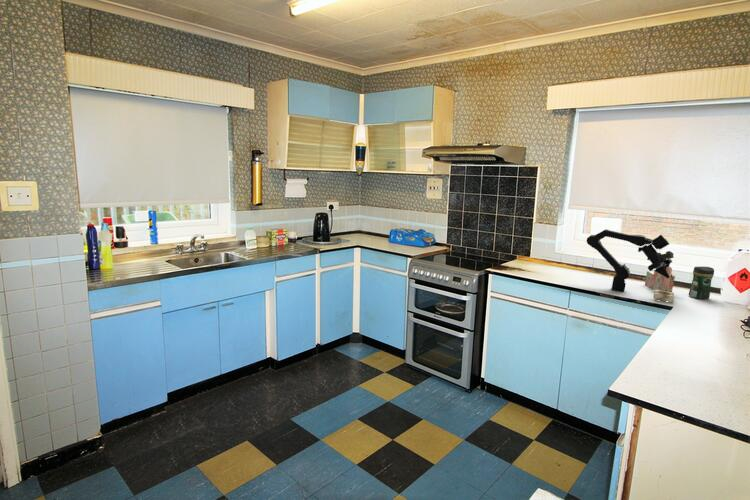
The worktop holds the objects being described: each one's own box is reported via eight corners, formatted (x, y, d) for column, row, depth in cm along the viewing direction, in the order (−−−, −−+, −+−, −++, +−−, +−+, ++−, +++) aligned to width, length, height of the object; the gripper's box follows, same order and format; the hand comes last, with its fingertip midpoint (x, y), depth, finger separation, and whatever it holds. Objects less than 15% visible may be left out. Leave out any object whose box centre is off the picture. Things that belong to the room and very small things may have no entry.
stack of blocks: (644, 284, 273) (647, 266, 270) (655, 285, 272) (658, 266, 269) (659, 294, 252) (663, 274, 250) (671, 295, 251) (675, 275, 249)
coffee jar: (700, 295, 254) (706, 265, 250) (711, 299, 246) (718, 268, 242) (685, 295, 253) (691, 264, 249) (695, 299, 245) (702, 268, 241)
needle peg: (662, 288, 241) (666, 266, 238) (661, 286, 243) (666, 265, 241) (668, 289, 239) (672, 267, 237) (668, 287, 242) (672, 266, 239)
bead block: (653, 300, 241) (655, 293, 240) (653, 296, 249) (654, 289, 248) (673, 303, 237) (674, 296, 236) (672, 299, 244) (673, 292, 243)
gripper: (658, 248, 234) (677, 272, 228) (671, 244, 245) (690, 267, 239) (640, 258, 242) (658, 282, 236) (653, 255, 253) (671, 278, 247)
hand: (670, 277), depth 239 cm, fingers closed on needle peg, 3 cm apart
